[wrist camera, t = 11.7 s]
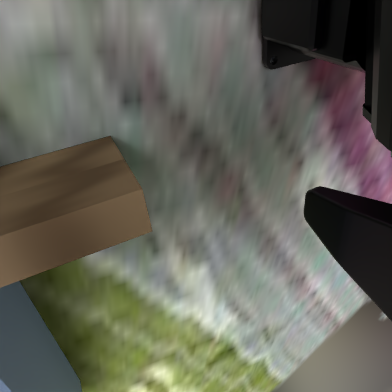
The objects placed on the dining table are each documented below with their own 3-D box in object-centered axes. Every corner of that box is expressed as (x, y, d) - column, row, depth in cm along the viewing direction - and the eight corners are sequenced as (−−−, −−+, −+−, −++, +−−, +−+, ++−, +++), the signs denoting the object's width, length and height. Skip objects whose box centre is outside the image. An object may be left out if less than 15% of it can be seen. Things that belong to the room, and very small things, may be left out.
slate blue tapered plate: (-155, 120, 14) (-278, 236, 8) (-88, 105, 15) (-155, 203, 9) (50, 394, 28) (62, 512, 22) (80, 380, 29) (99, 491, 23)
